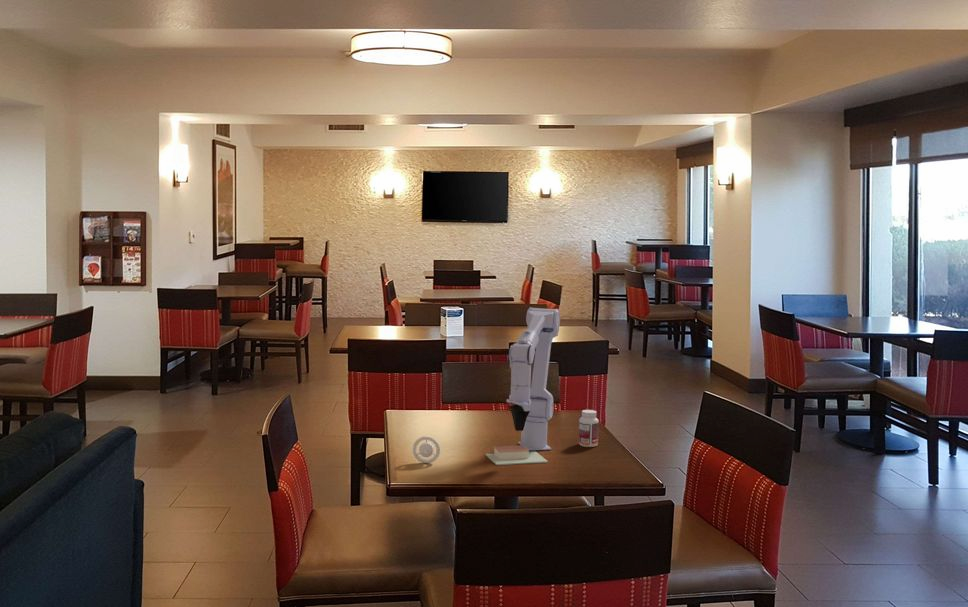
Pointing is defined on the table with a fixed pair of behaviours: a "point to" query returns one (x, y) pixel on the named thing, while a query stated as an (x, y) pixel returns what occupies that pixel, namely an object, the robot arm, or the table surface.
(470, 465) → the table surface
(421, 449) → the ring around a ball
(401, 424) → the table surface
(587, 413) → the pill bottle
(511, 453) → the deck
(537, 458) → the mat
